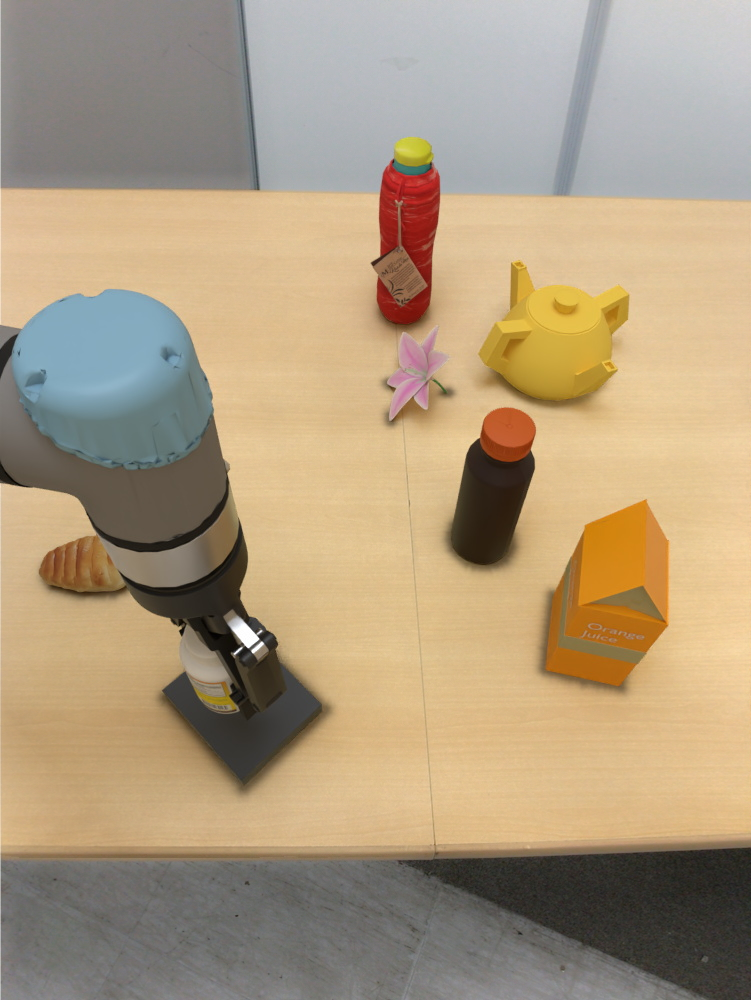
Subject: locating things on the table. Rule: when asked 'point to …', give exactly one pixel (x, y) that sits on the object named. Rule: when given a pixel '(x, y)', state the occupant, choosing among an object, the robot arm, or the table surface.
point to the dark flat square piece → (247, 722)
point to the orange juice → (611, 597)
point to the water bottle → (407, 231)
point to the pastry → (81, 567)
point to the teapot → (555, 338)
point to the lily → (415, 371)
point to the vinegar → (494, 486)
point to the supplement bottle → (206, 673)
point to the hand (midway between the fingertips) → (232, 680)
